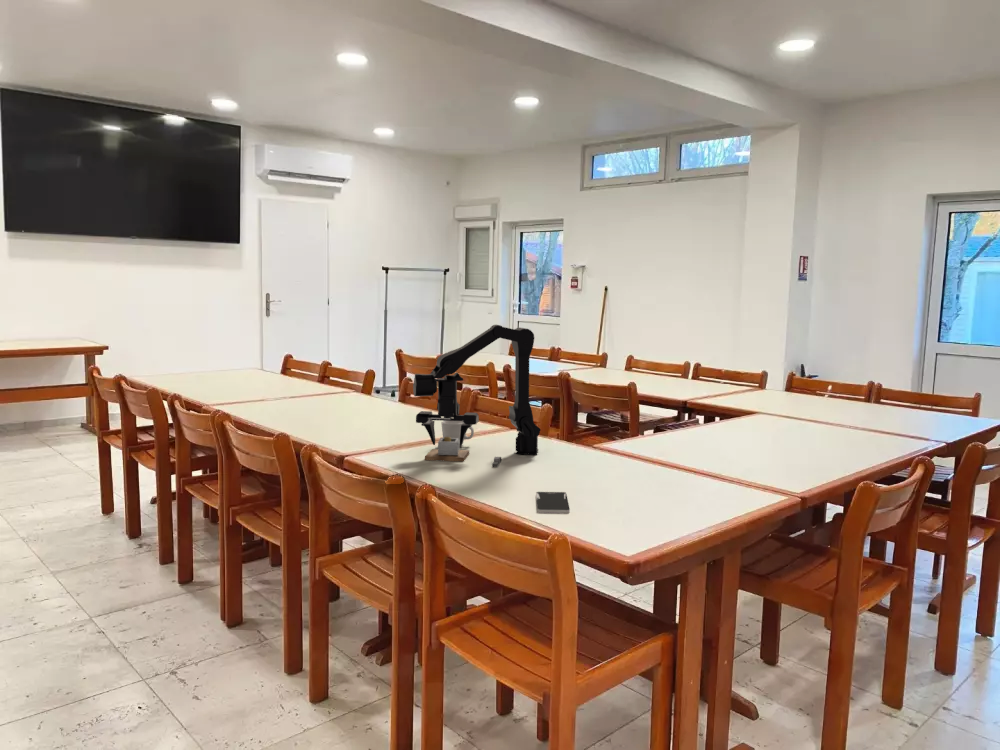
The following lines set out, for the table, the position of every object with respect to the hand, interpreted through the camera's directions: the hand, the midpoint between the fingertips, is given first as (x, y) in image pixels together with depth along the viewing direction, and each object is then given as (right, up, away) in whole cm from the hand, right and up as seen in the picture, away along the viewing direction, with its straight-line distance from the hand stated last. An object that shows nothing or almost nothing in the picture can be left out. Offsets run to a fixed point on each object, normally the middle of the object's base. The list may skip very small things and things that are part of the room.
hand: (447, 445), depth 227 cm
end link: (+1, -2, -1) cm, 2 cm away
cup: (+2, -2, +17) cm, 17 cm away
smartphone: (+29, -10, -47) cm, 56 cm away
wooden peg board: (0, -4, 0) cm, 4 cm away
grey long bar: (+15, -5, -8) cm, 18 cm away
